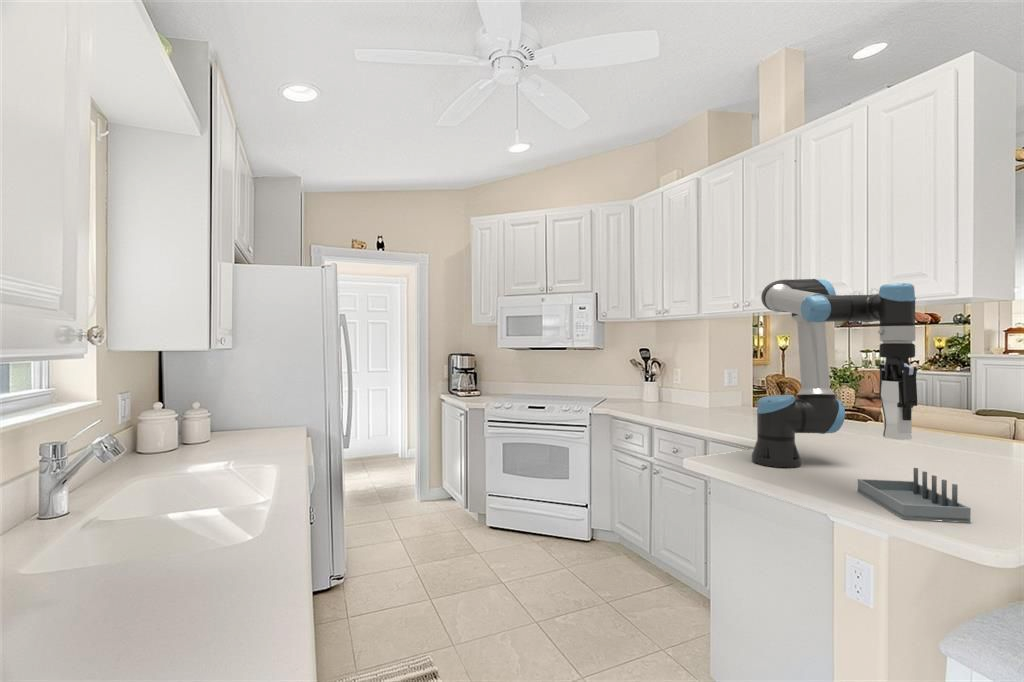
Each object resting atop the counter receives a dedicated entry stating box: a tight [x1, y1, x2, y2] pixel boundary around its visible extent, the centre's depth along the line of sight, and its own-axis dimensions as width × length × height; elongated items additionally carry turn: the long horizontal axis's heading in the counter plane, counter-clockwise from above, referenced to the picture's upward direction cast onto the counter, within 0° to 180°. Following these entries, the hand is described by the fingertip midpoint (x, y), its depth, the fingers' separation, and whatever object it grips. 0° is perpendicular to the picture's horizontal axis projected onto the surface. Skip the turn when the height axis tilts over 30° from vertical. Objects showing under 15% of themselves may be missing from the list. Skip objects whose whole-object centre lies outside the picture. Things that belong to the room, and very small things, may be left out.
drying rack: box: [857, 467, 971, 523], centre depth 133 cm, size 23×14×8 cm, turn 169°
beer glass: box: [880, 380, 914, 441], centre depth 135 cm, size 7×7×15 cm
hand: (897, 430), depth 135 cm, fingers closed on beer glass, 6 cm apart
